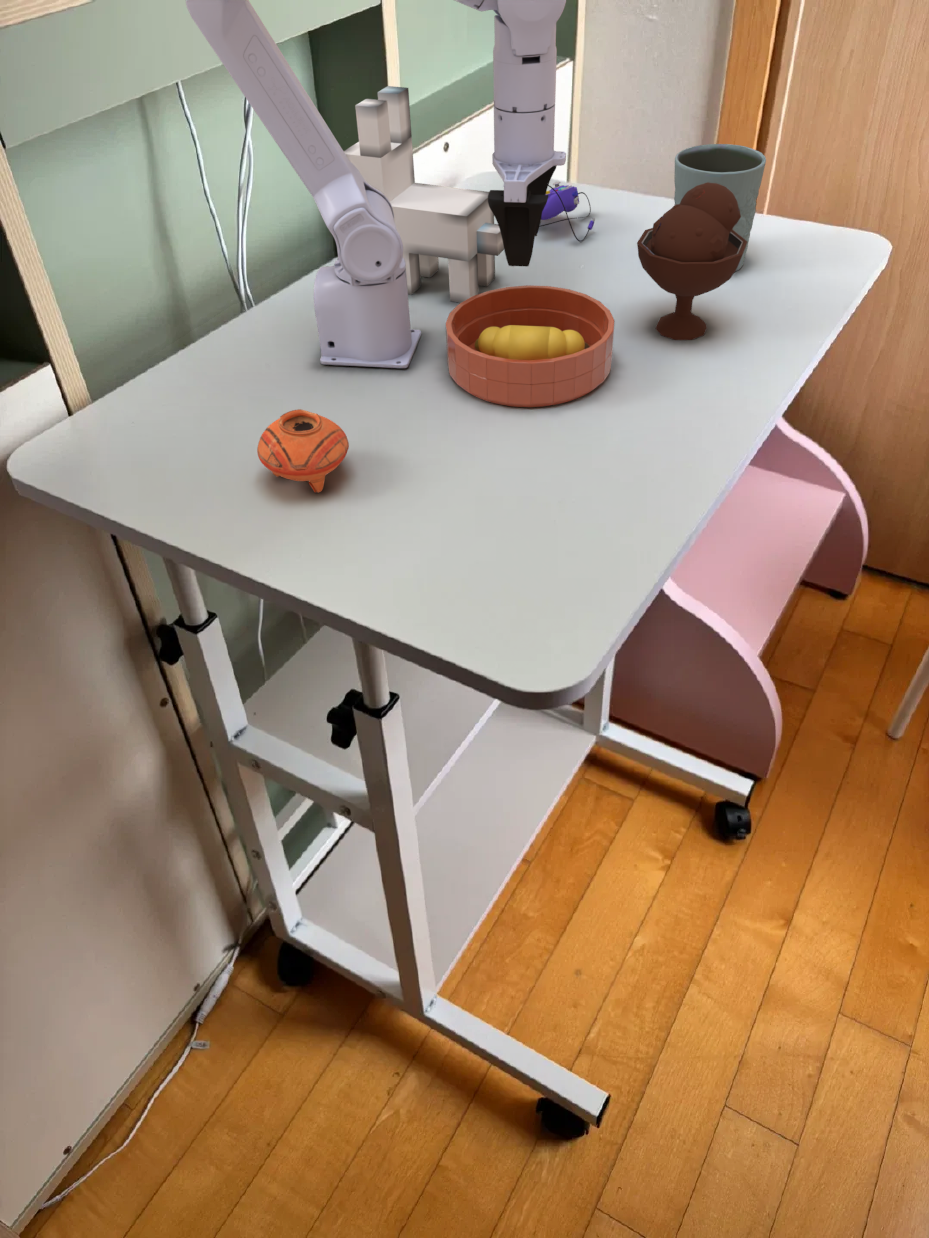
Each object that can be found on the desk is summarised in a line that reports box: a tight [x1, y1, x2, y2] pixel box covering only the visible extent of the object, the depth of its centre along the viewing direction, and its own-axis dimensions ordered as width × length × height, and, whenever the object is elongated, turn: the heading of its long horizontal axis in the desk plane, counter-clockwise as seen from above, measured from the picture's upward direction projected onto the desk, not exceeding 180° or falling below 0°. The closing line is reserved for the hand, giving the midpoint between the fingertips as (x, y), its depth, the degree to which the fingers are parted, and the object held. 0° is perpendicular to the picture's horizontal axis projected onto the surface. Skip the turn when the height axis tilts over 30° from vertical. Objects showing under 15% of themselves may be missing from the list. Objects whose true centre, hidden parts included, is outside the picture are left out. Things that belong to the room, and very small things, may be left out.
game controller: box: [539, 181, 596, 242], centre depth 124 cm, size 10×8×10 cm
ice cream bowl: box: [636, 182, 747, 341], centre depth 99 cm, size 11×11×15 cm
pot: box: [256, 408, 350, 494], centre depth 84 cm, size 8×8×7 cm
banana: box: [475, 325, 590, 360], centre depth 98 cm, size 12×4×4 cm, turn 81°
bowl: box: [445, 284, 615, 408], centre depth 98 cm, size 17×17×5 cm
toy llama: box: [343, 85, 505, 304], centre depth 108 cm, size 8×18×20 cm, turn 66°
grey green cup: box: [673, 143, 767, 273], centre depth 113 cm, size 10×10×12 cm
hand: (523, 249), depth 98 cm, fingers open, 7 cm apart
